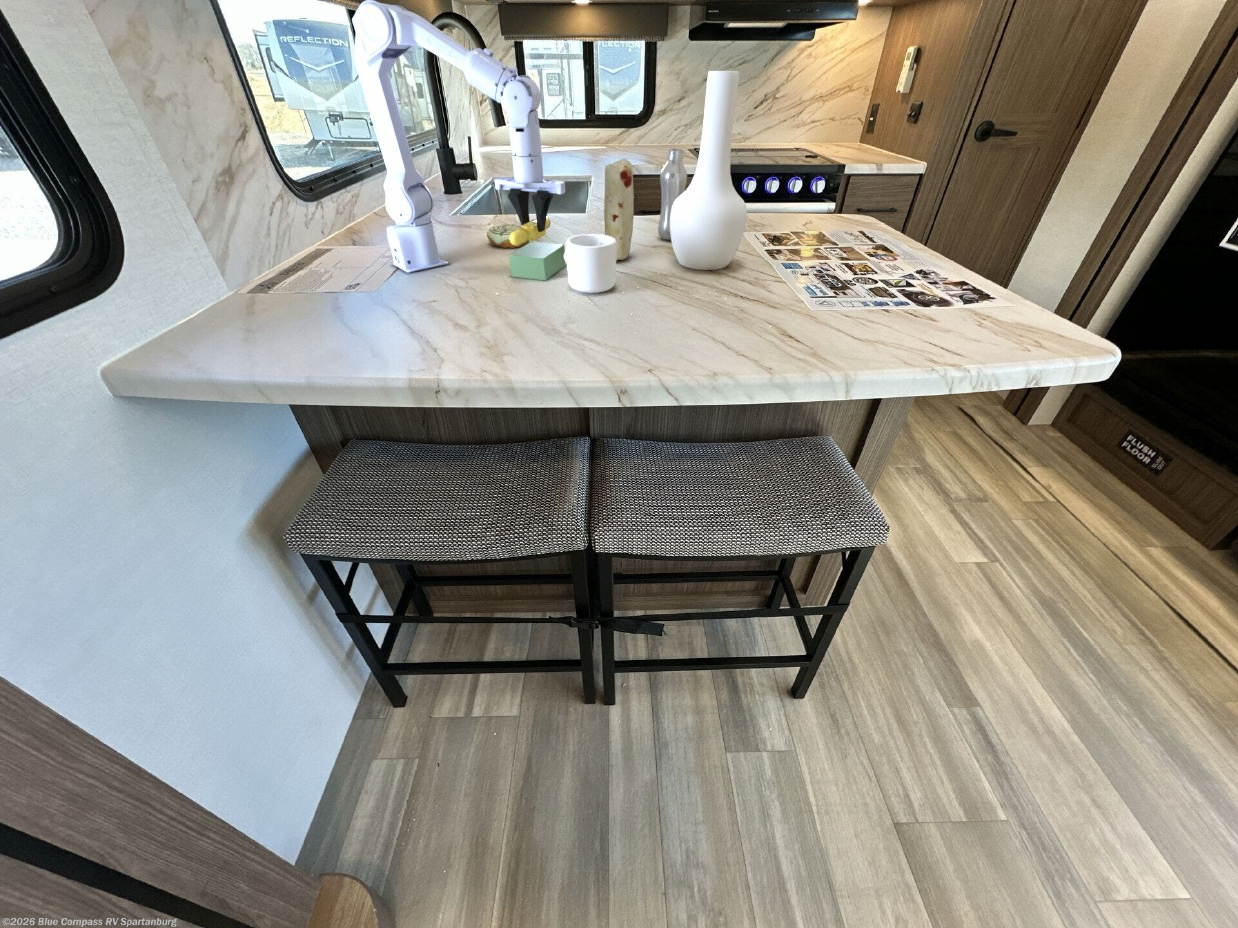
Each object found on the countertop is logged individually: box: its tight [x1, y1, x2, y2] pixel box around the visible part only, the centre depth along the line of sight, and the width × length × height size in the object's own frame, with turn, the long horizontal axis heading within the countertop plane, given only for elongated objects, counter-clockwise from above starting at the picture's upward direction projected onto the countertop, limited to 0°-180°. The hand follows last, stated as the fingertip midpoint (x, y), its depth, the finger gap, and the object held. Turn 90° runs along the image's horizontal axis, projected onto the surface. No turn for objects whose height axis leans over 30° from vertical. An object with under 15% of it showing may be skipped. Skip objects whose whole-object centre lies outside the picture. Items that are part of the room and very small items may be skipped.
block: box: [508, 241, 566, 281], centre depth 110 cm, size 11×8×4 cm
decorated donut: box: [486, 223, 529, 249], centre depth 127 cm, size 10×11×4 cm
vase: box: [670, 70, 748, 271], centre depth 106 cm, size 17×17×35 cm
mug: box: [564, 233, 617, 294], centre depth 101 cm, size 12×10×9 cm
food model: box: [603, 158, 635, 261], centre depth 113 cm, size 10×7×20 cm
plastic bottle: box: [657, 148, 688, 241], centre depth 126 cm, size 6×7×20 cm
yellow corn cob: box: [509, 216, 551, 246], centre depth 106 cm, size 16×4×3 cm, turn 162°
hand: (533, 230), depth 106 cm, fingers closed on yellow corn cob, 3 cm apart
